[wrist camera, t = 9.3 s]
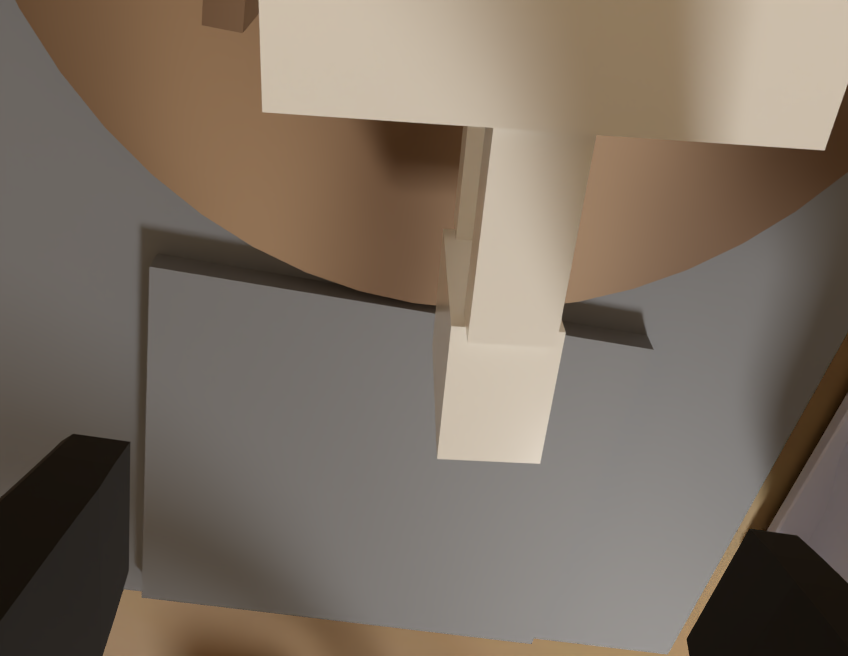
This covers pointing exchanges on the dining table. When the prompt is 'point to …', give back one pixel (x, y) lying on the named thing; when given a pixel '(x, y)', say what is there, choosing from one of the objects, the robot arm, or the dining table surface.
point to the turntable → (388, 160)
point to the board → (385, 405)
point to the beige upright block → (544, 145)
